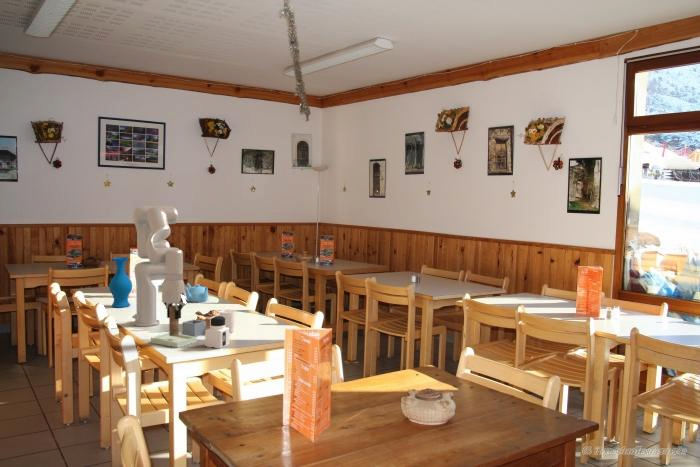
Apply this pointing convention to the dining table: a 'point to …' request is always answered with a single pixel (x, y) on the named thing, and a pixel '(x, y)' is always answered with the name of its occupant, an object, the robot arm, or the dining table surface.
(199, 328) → the blue-grey block
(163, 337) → the sage tray
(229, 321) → the white cup
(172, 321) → the walnut dowel
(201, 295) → the teapot
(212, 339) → the container
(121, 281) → the vase
